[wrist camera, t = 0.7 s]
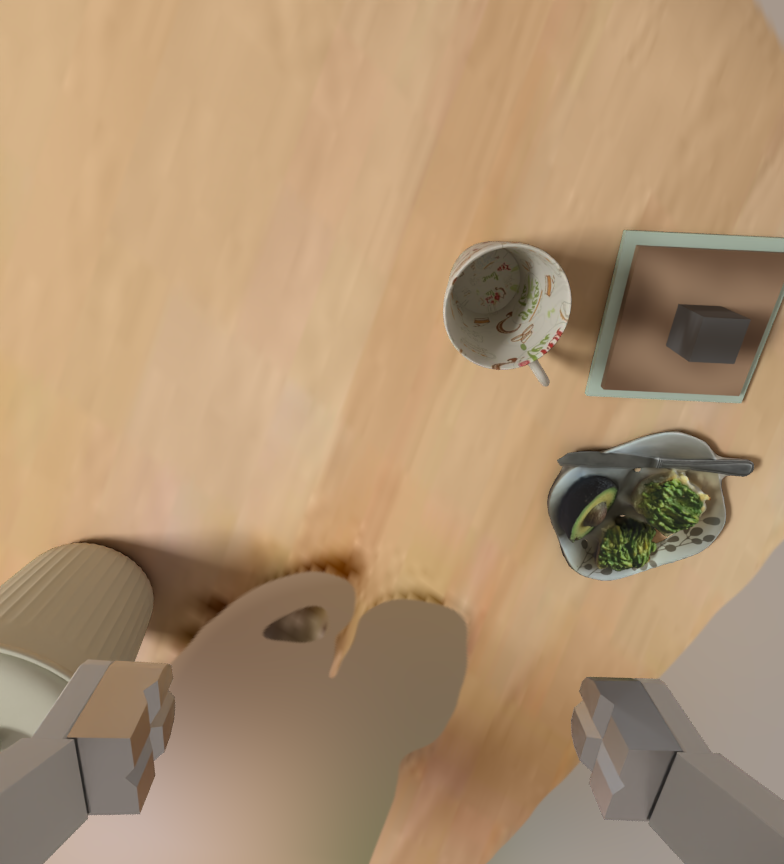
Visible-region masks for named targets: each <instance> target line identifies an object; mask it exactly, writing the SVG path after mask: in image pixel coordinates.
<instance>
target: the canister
mask: <svg viewBox="0 0 784 864" xmlns="http://www.w3.org/2000/svg"><path fill="white" fill-rule="evenodd" d="M153 602H154V596H153V589H152V587H151V585H150V581H149V579H148V578H147V576H146V574H145V573H144V572H143V571H142V569H141V567H139V566H138V565H137V564H136V563H135V562H134V561H132V560H131V559H130V558H129V557H128V556H125V555H123V554H122V553H121V552H118V551H115V550H114V549H113V548H107V547H105V546H104V545H102V546H101V545H97V544H95V543H93V544H88V543H72V544H65V545H62V546H59V547H55V548H52V549H50V550H48V551H47V552H45V553H43V554H41V555H39V556H38V557H36V558H35V559H34V560H32V561H31V562H30V563H29V564H27V565H26V566H25V567H24V568H22V569H21V570H20V571H19V572H17V573H16V574H15V575H14V576H12V577H11V578H10V579H9V580H7V581H6V582H5V583H4V584H3V585H1V586H0V753H1V752H2V751H4V750H5V749H7V748H8V747H10V746H11V745H13V744H14V743H15V742H17V741H18V740H20V739H21V738H32V736H33V735H34V733H35V732H36V730H37V729H38V727H39V726H40V724H41V723H42V721H43V720H44V718H45V717H46V715H47V714H48V712H49V711H50V709H51V708H52V706H53V705H54V703H55V702H56V700H57V699H58V697H59V696H60V694H61V693H62V691H63V690H64V688H65V687H66V685H67V684H68V682H69V681H70V679H71V678H72V676H73V675H74V673H75V672H76V670H77V669H78V667H79V666H80V665H81V664H83V663H84V662H85V661H86V660H88V659H90V660H107V661H132V662H135V659H136V657H137V654H138V651H139V649H140V646H141V643H142V641H143V638H144V635H145V633H146V630H147V627H148V624H149V621H150V618H151V615H152V611H153Z"/></svg>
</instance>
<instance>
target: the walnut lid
mask: <svg viewBox="0 0 784 864" xmlns="http://www.w3.org/2000/svg"><path fill="white" fill-rule="evenodd" d="M783 284H784V252H770V251H750V250H729V249H709V248H689V247H668V246H648V245H636V247H635V251H634V255H633V259H632V263H631V267H630V271H629V275H628V279H627V283H626V287H625V291H624V295H623V299H622V303H621V307H620V311H619V315H618V319H617V323H616V327H615V331H614V335H613V339H612V342H611V346H610V350H609V354H608V358H607V362H606V366H605V370H604V374H603V378H602V382H601V387H602V388H603V390H622V391H643V392H663V393H684V394H704V395H725V396H740V393H741V390H742V388H743V385H744V383H745V380H746V378H747V375H748V373H749V370H750V368H751V365H752V362H753V360H754V357H755V355H756V352H757V350H758V347H759V345H760V342H761V340H762V337H763V334H764V332H765V329H766V327H767V324H768V322H769V319H770V317H771V314H772V312H773V309H774V306H775V304H776V301H777V299H778V296H779V294H780V291H781V289H782V286H783Z"/></svg>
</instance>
